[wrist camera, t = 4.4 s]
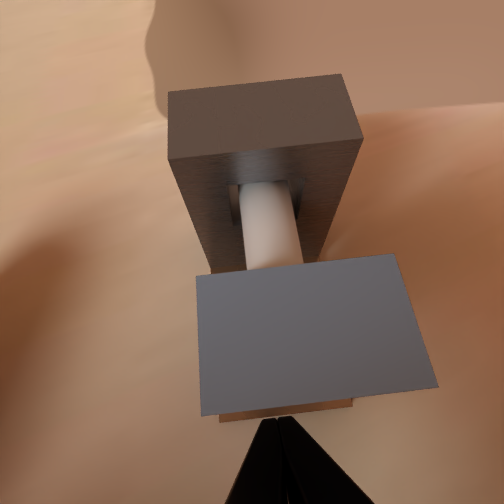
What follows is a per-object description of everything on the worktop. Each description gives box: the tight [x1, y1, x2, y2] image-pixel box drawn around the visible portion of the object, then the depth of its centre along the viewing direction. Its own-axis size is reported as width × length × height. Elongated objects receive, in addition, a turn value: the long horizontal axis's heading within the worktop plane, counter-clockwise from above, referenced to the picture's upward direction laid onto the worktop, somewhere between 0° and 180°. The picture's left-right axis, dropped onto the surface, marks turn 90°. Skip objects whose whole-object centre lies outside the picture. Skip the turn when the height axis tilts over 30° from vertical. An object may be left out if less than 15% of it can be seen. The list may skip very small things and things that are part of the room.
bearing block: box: [168, 74, 364, 423], centre depth 13 cm, size 11×6×9 cm, turn 6°
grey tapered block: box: [196, 179, 439, 416], centre depth 12 cm, size 9×4×10 cm, turn 6°
